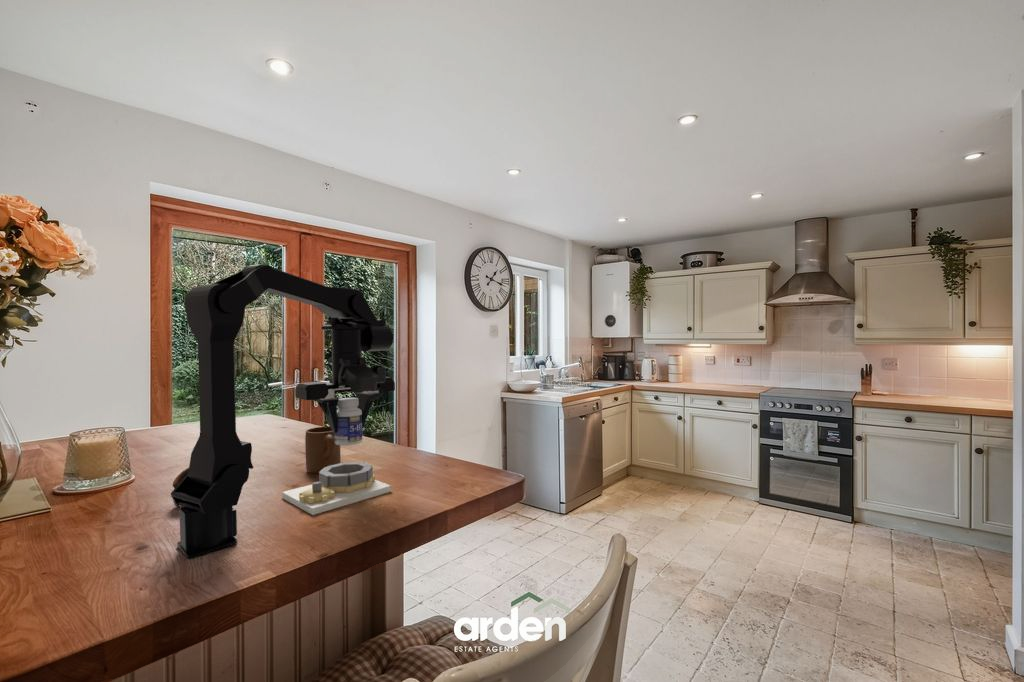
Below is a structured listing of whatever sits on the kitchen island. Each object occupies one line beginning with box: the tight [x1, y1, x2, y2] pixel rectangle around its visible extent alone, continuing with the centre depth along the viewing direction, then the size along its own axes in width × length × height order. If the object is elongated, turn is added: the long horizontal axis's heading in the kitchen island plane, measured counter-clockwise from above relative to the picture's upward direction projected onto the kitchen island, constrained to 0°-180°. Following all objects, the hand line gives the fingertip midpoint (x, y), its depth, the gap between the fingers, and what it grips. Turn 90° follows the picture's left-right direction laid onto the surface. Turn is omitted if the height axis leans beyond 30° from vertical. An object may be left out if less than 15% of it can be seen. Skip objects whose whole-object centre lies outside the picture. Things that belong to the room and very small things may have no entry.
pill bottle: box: [335, 397, 363, 446], centre depth 96 cm, size 5×5×9 cm
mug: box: [304, 425, 342, 474], centre depth 110 cm, size 12×8×9 cm, turn 35°
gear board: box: [281, 461, 392, 516], centre depth 94 cm, size 16×13×4 cm
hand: (348, 430), depth 96 cm, fingers closed on pill bottle, 5 cm apart
